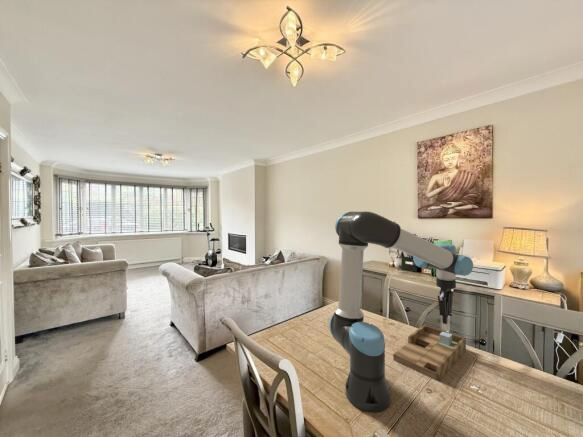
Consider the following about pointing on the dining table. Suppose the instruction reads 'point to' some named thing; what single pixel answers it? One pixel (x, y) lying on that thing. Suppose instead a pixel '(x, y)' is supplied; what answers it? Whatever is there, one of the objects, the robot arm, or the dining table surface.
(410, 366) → the box
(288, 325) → the dining table surface
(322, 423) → the dining table surface
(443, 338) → the block
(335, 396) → the dining table surface
